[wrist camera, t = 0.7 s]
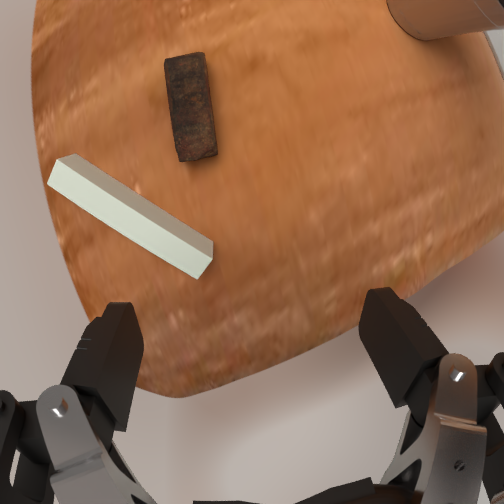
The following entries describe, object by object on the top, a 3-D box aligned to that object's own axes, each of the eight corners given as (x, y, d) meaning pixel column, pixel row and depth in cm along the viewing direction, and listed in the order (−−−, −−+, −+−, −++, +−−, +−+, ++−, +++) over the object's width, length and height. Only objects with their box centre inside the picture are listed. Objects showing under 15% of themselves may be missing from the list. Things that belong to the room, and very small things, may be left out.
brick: (169, 66, 24) (161, 58, 20) (206, 60, 25) (204, 50, 20) (182, 158, 29) (176, 164, 25) (218, 152, 29) (218, 157, 25)
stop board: (75, 153, 27) (57, 159, 23) (213, 241, 34) (212, 259, 30) (65, 175, 28) (47, 183, 24) (199, 260, 34) (197, 279, 30)
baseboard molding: (461, -46, 14) (429, -46, 16) (470, -49, 11) (439, -51, 13) (529, 90, 26) (509, 107, 29) (539, 92, 24) (520, 109, 26)
